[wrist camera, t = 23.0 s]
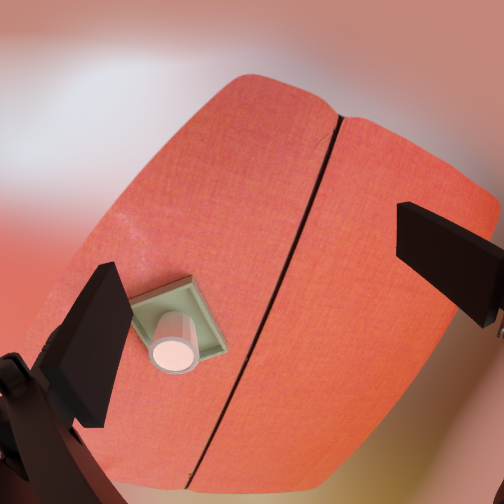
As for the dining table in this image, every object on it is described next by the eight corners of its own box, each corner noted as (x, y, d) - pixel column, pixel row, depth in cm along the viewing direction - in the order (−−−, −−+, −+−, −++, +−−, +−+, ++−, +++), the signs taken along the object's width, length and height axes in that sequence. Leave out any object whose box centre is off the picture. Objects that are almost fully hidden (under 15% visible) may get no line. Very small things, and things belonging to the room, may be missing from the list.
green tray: (124, 301, 42) (121, 309, 40) (192, 275, 42) (191, 282, 40) (165, 363, 48) (164, 372, 46) (227, 343, 48) (228, 352, 46)
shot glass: (166, 348, 46) (163, 379, 39) (146, 315, 43) (138, 345, 37) (206, 336, 46) (207, 367, 40) (187, 301, 43) (186, 330, 37)
